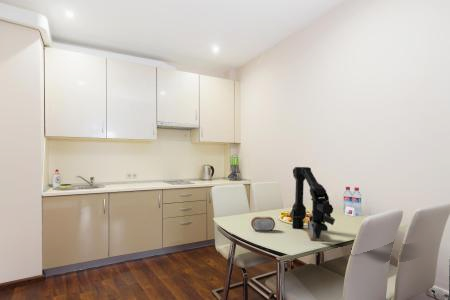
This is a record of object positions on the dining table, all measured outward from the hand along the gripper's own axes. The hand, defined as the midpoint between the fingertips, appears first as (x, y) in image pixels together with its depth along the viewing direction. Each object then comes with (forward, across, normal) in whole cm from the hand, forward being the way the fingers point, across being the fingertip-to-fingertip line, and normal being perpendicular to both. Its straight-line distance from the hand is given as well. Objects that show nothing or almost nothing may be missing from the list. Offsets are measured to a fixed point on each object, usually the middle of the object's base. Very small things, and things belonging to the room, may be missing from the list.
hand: (317, 238), depth 139 cm
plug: (+1, +10, 0) cm, 10 cm away
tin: (+2, +16, +30) cm, 34 cm away
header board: (+2, +12, 0) cm, 12 cm away
